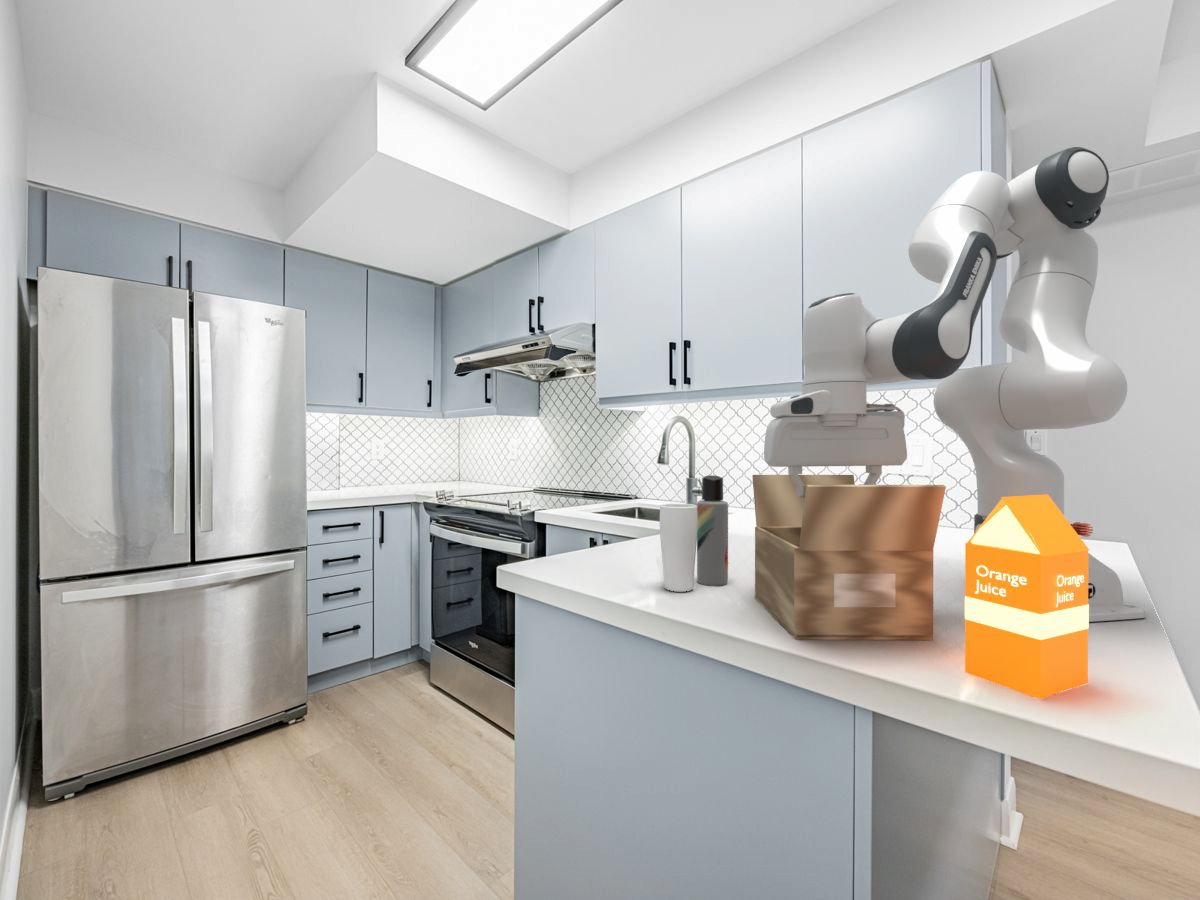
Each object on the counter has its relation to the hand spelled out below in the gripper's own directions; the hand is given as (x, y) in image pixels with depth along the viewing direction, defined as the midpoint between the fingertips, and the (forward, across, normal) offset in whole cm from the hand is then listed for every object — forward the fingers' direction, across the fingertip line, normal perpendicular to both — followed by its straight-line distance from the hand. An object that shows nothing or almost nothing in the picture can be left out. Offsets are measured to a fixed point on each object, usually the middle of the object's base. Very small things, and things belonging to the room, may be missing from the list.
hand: (834, 496), depth 83 cm
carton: (+18, 0, 0) cm, 18 cm away
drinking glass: (+18, +21, -16) cm, 32 cm away
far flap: (+2, 0, -11) cm, 11 cm away
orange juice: (+18, -12, +22) cm, 31 cm away
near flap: (+2, 0, +11) cm, 11 cm away
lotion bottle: (+18, +14, -21) cm, 31 cm away
